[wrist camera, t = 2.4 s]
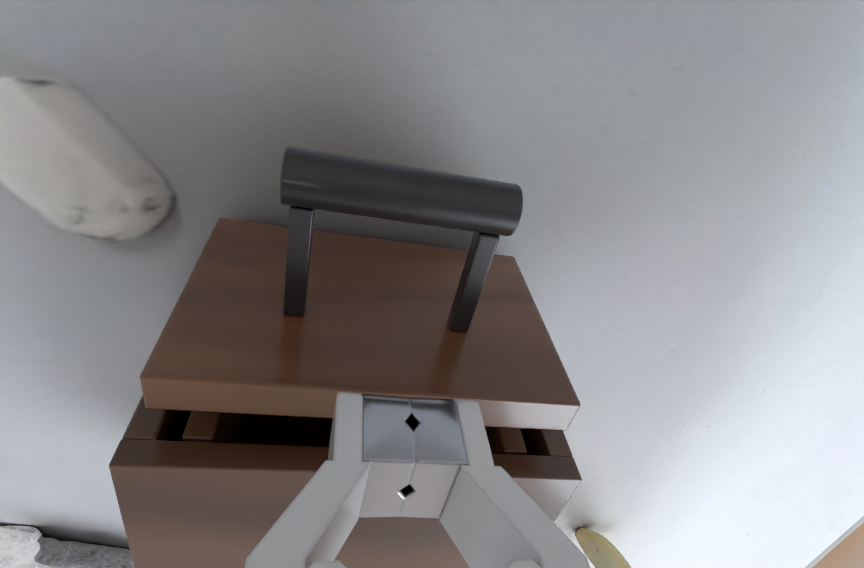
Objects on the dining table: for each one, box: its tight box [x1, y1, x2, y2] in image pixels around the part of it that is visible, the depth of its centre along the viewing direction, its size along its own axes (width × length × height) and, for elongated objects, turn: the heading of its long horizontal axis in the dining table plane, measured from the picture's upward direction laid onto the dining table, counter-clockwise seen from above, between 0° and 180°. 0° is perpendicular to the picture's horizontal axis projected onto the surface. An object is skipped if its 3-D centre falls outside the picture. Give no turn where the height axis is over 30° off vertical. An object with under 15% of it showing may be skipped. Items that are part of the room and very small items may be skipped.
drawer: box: [140, 147, 580, 455], centre depth 18 cm, size 18×11×8 cm, turn 168°
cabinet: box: [109, 396, 581, 568], centre depth 21 cm, size 15×13×10 cm
